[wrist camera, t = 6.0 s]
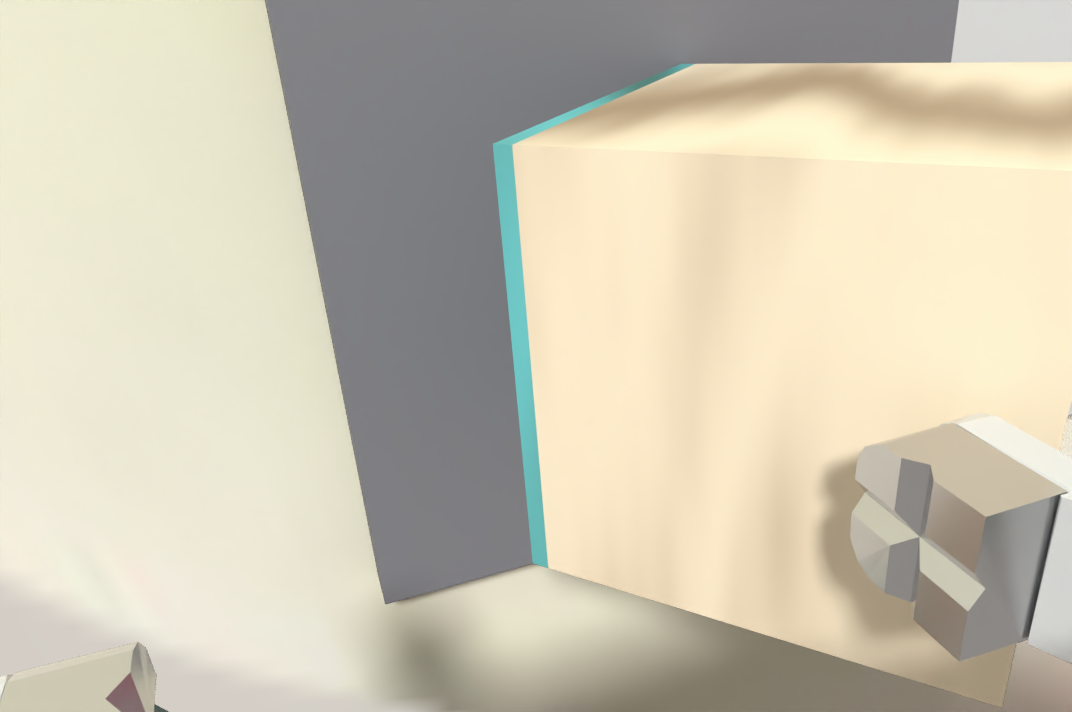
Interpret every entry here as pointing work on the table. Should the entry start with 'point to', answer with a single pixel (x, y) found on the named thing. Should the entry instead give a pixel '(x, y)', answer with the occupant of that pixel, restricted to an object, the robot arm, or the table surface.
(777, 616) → the beech block
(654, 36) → the mat
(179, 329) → the table surface
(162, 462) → the table surface
